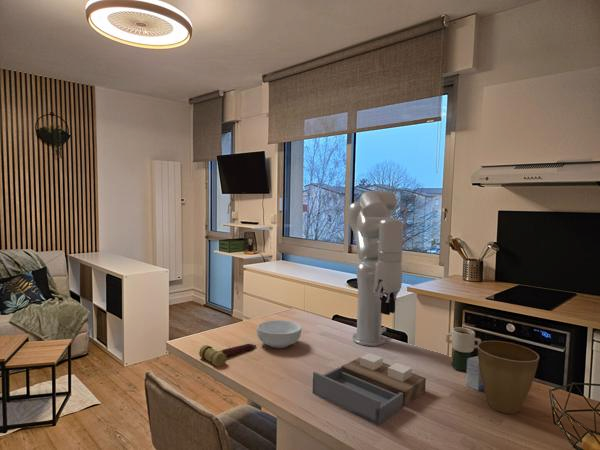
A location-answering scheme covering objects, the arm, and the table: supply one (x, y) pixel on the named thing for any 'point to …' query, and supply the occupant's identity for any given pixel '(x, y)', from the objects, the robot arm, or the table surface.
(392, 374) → the tile
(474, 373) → the medicine box
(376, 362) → the white square tile
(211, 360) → the gavel
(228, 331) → the table surface
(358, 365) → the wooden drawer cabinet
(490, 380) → the plant pot
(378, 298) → the robot arm
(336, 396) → the tray
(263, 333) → the cereal bowl
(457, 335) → the character mug
